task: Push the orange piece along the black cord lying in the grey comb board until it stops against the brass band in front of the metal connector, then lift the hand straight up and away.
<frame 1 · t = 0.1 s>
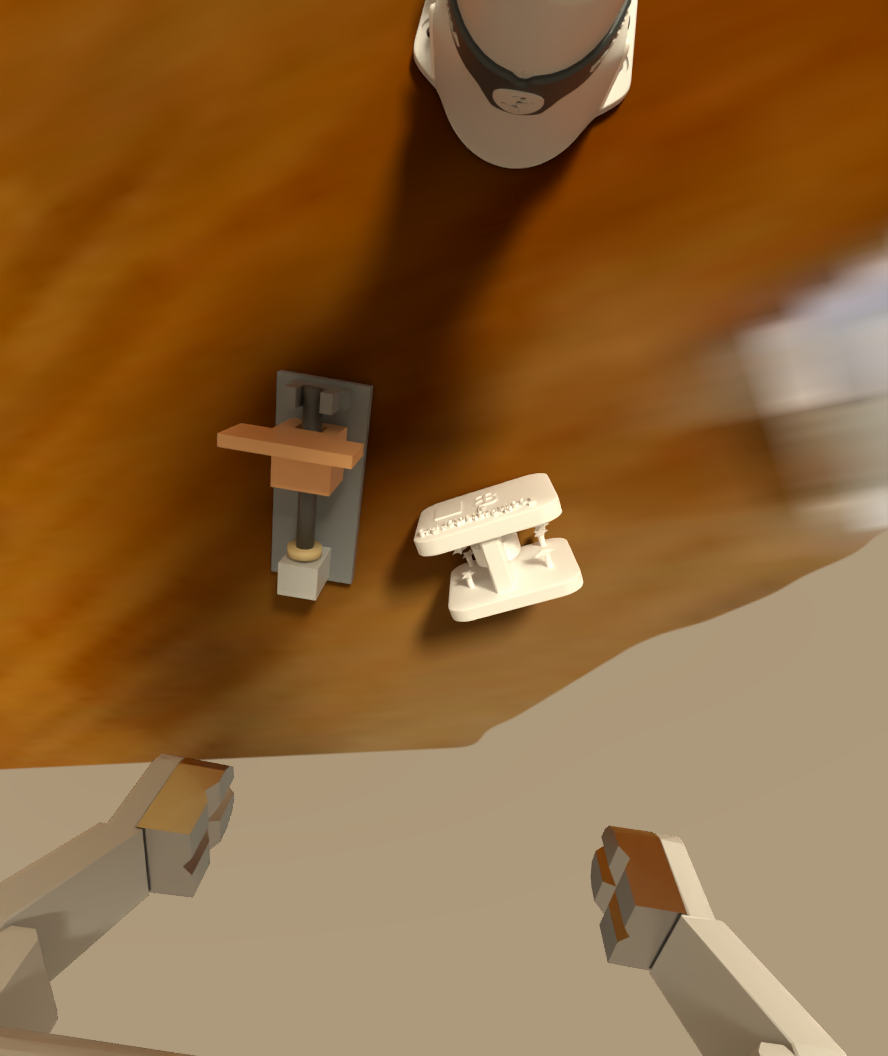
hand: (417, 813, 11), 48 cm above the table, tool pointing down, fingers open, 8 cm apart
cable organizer: (494, 522, 60), on the table
orange piece: (302, 461, 50), point 7 cm above the table, slide at 0.0 cm
comb board: (320, 482, 59), on the table
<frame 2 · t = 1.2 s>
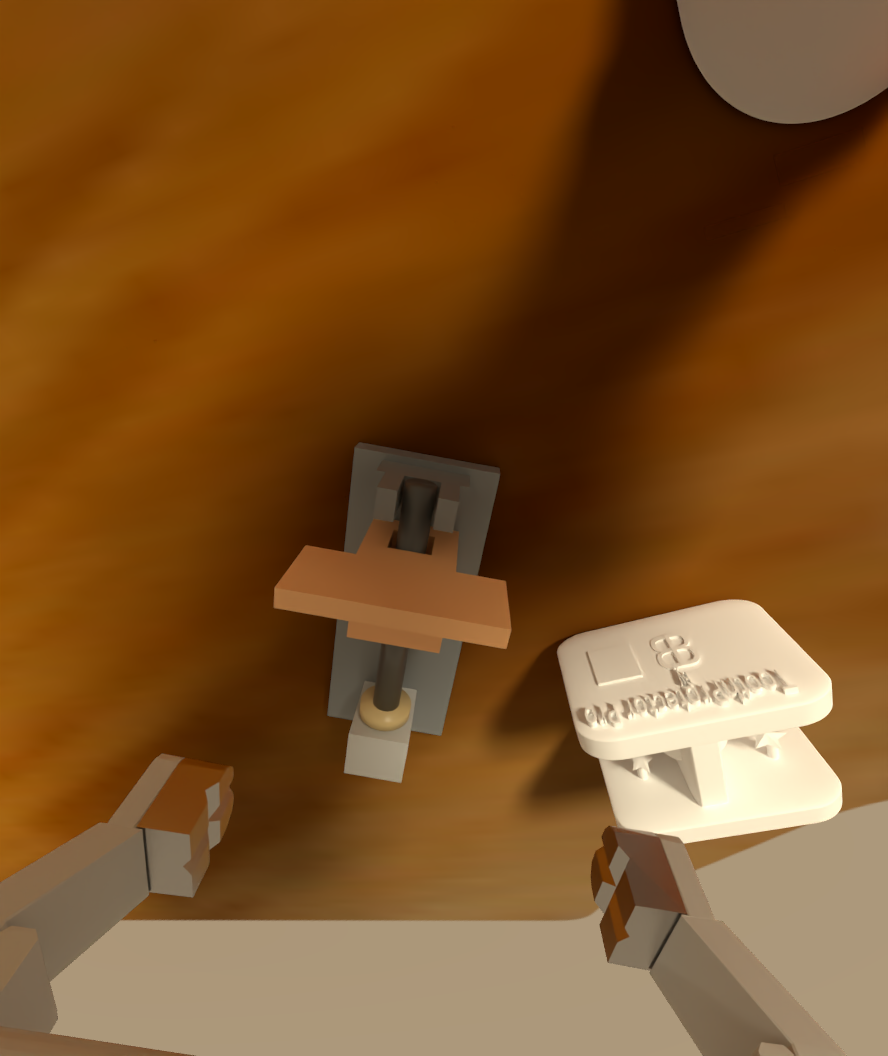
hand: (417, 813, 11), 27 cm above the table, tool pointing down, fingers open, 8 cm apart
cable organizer: (655, 658, 41), on the table
orange piece: (400, 601, 31), point 7 cm above the table, slide at 0.0 cm
comb board: (405, 599, 40), on the table
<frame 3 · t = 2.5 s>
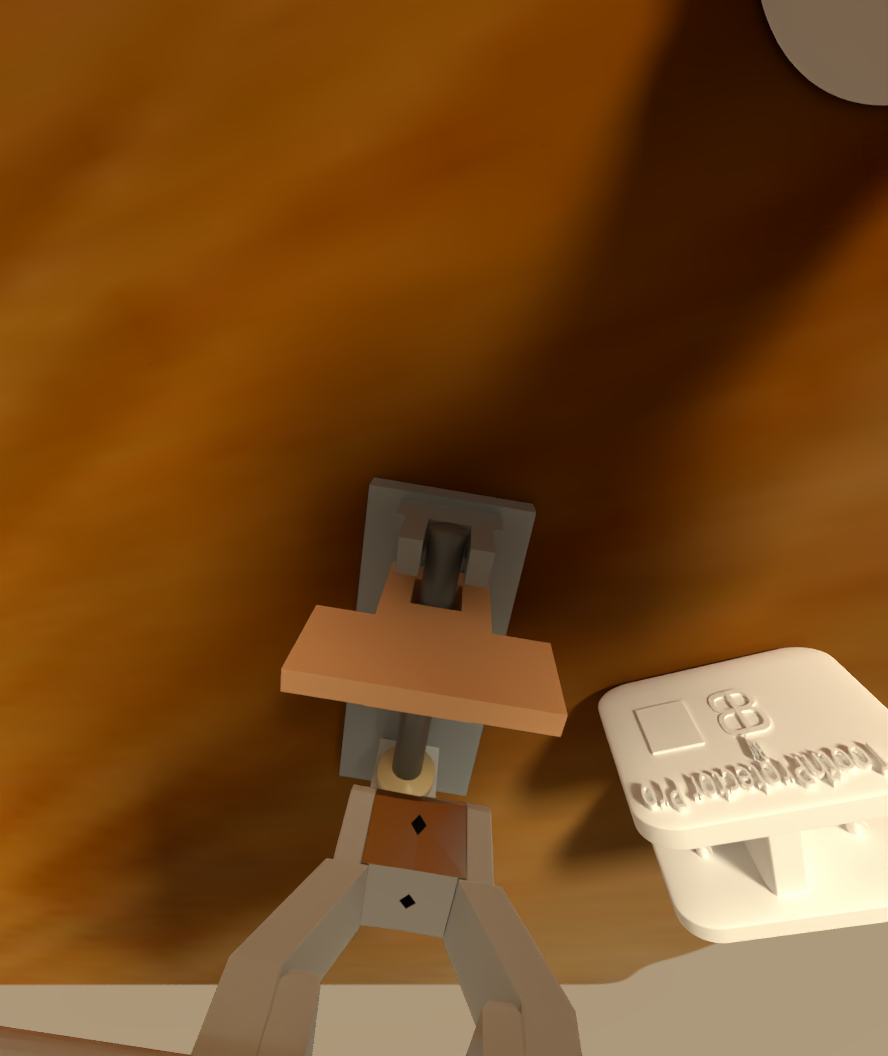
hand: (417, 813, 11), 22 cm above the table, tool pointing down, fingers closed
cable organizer: (705, 709, 37), on the table
orange piece: (426, 665, 27), point 8 cm above the table, slide at 0.0 cm
comb board: (426, 648, 35), on the table
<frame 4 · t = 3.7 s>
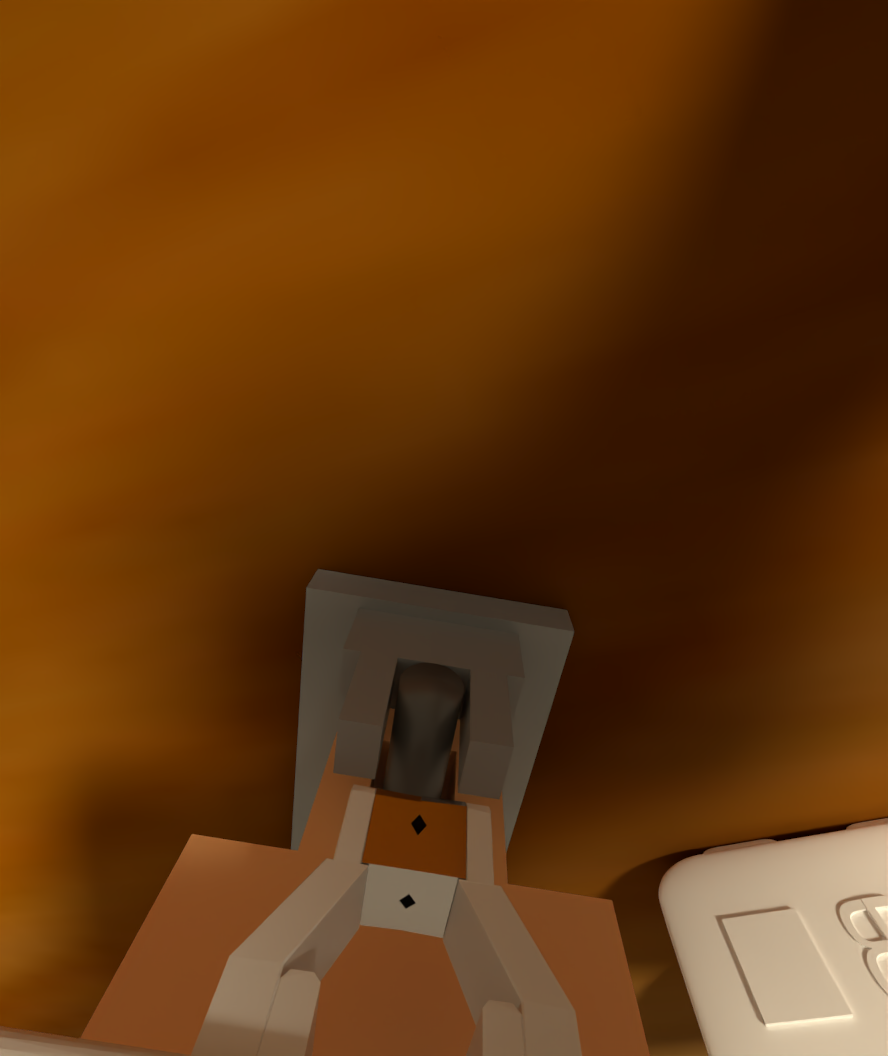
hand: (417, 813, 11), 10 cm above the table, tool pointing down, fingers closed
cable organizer: (808, 882, 25), on the table
orange piece: (393, 913, 16), point 7 cm above the table, slide at 0.0 cm
comb board: (404, 801, 24), on the table
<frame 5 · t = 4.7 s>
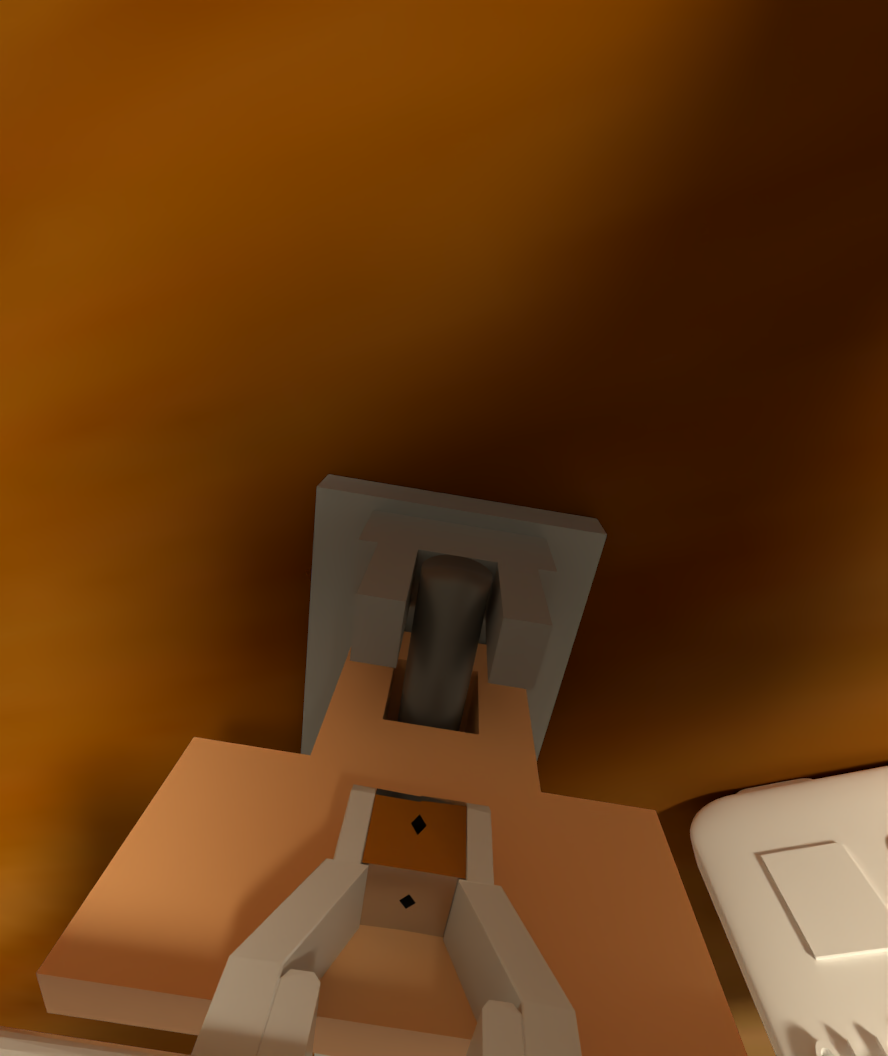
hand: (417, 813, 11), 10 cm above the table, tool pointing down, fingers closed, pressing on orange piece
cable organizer: (845, 826, 24), on the table
orange piece: (412, 833, 14), point 8 cm above the table, slide at 0.4 cm, touching gripper
comb board: (419, 739, 23), on the table
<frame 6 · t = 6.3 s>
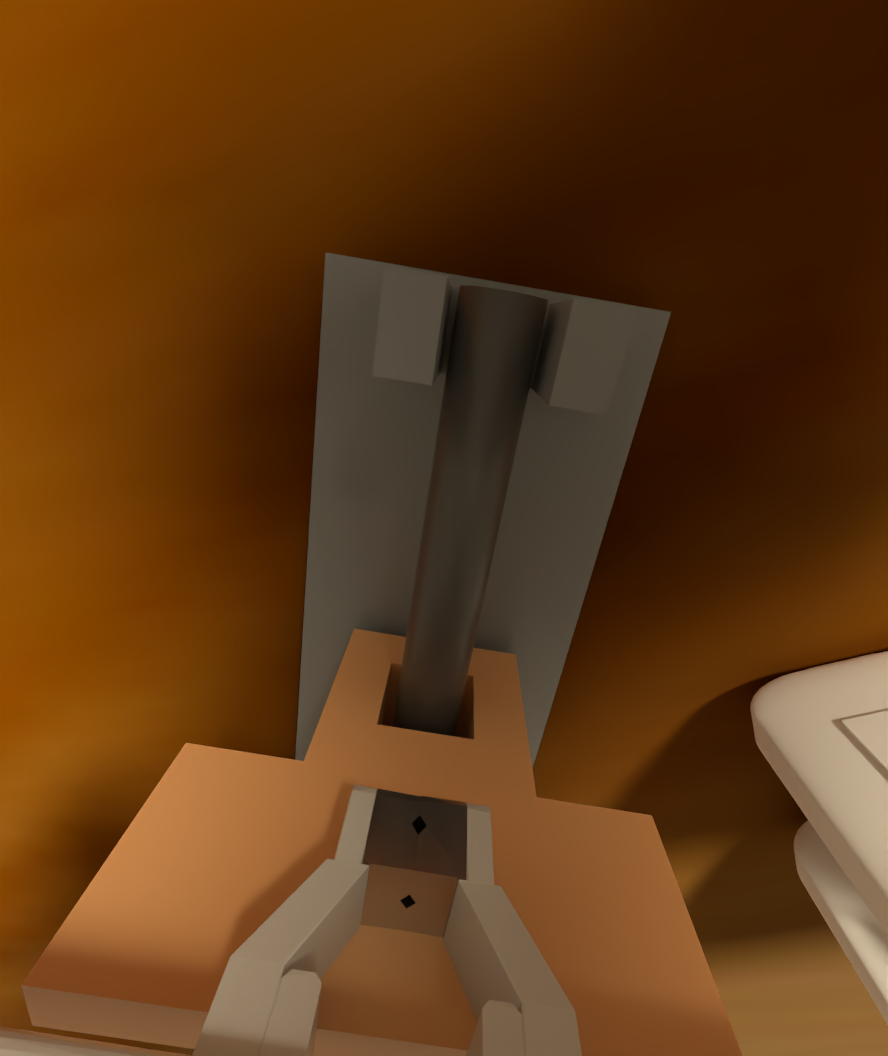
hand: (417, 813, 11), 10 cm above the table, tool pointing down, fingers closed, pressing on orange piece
orange piece: (407, 840, 14), point 7 cm above the table, slide at 7.5 cm, touching comb board, gripper
comb board: (438, 612, 20), on the table
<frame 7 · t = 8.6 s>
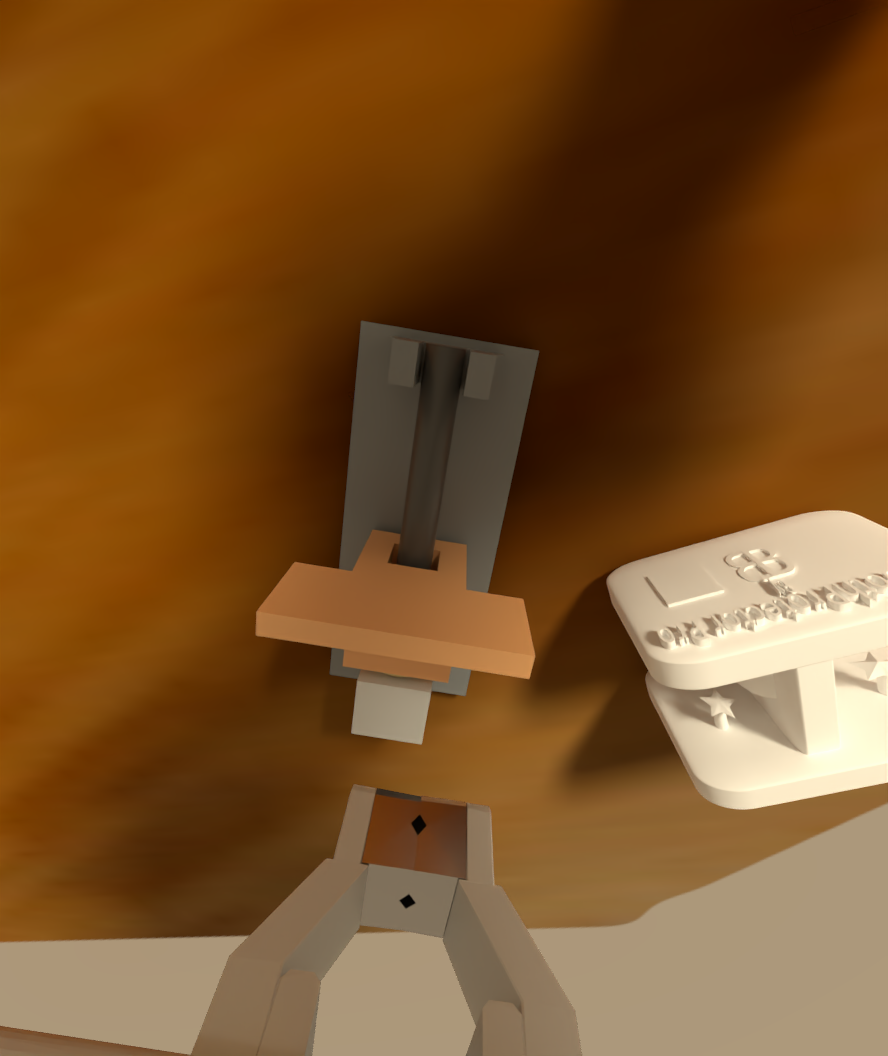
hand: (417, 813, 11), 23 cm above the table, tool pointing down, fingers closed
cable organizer: (720, 593, 34), on the table
orange piece: (403, 624, 27), point 8 cm above the table, slide at 7.5 cm, touching comb board
comb board: (422, 525, 33), on the table
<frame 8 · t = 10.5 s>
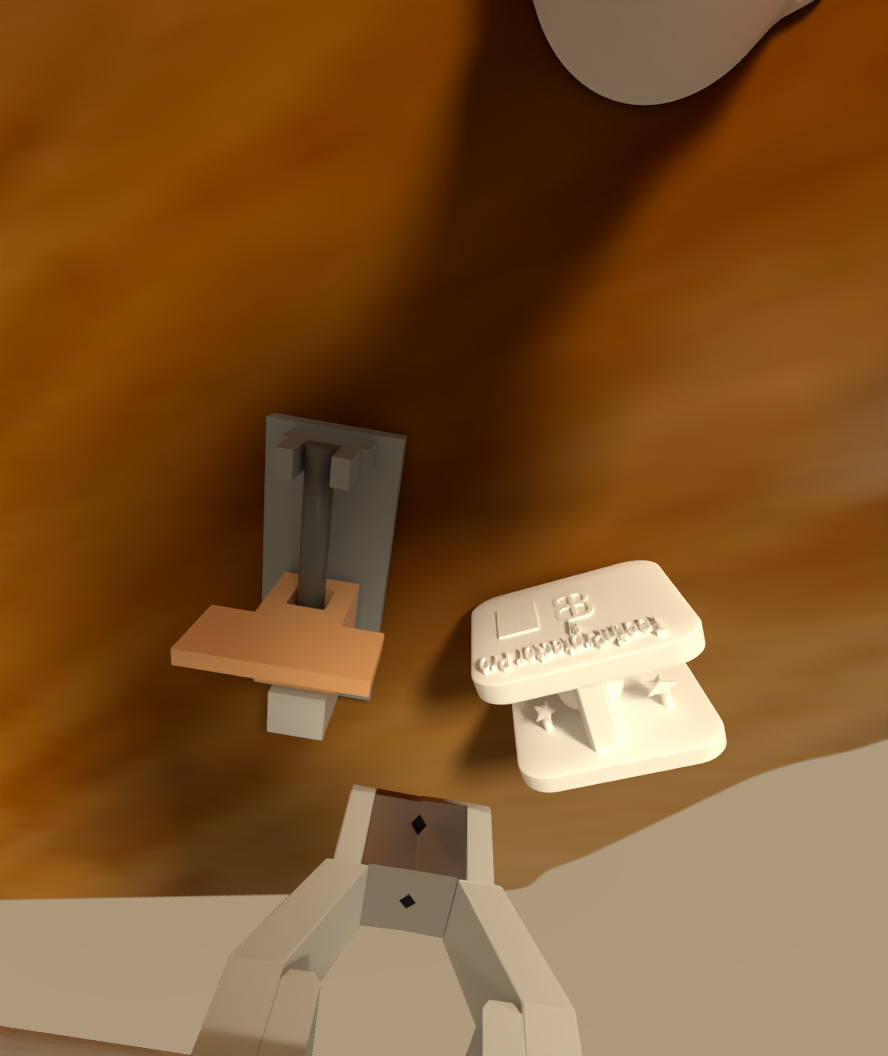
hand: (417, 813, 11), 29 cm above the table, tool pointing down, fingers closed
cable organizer: (571, 621, 43), on the table
orange piece: (298, 650, 36), point 7 cm above the table, slide at 7.5 cm, touching comb board
comb board: (329, 566, 42), on the table
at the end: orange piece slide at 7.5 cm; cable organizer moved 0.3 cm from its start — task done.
